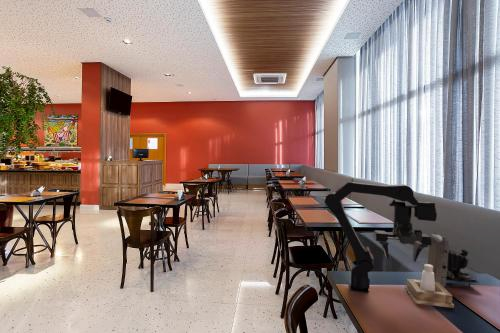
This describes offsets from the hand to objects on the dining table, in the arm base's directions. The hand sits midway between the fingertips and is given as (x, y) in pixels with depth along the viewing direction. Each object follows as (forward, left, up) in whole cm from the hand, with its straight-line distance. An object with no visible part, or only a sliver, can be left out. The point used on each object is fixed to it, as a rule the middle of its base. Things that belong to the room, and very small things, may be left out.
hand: (400, 260), depth 106 cm
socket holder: (+10, +1, -13) cm, 16 cm away
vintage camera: (+24, +16, -13) cm, 32 cm away
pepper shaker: (+10, +1, -12) cm, 16 cm away
